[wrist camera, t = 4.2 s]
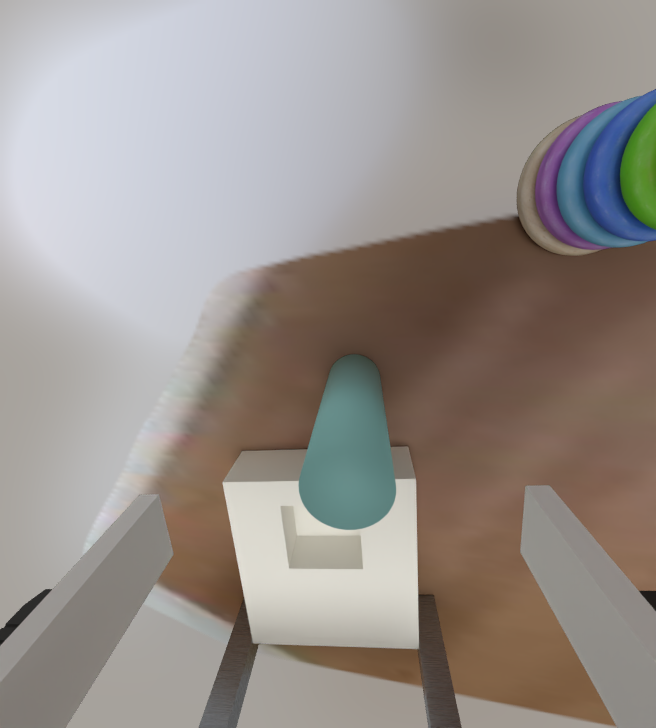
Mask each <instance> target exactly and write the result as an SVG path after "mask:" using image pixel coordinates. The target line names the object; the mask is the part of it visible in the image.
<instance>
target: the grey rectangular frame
mask: <svg viewBox="0 0 656 728" xmlns="http://www.w3.org/2000/svg"><path fill="white" fill-rule="evenodd" d="M418 621H419V649H417V650H418V657H419V664H420V671H421V679H422V686H423V692H424V700H425V707H426V714H427V721H428V728H461V724H460V718H459V713H458V709H457V704H456V699H455V694H454V690H453V685H452V680H451V675H450V671H449V666H448V661H447V656H446V651H445V647H444V642H443V637H442V632H441V628H440V623H439V618H438V613H437V609H436V604H435V599H434V595H418ZM258 645H259V644H253V641H252V635H251V630H250V625H249V619H248V614H247V609H246V604H245V598H244V599H243V602H242V605H241V608H240V611H239V613H238V616H237V619H236V622H235V625H234V628H233V631H232V633H231V636H230V639H229V642H228V645H227V648H226V651H225V654H224V656H223V659H222V662H221V665H220V668H219V671H218V674H217V677H216V680H215V682H214V685H213V688H212V691H211V694H210V697H209V699H208V702H207V705H206V708H205V711H204V714H203V717H202V720H201V722H200V725H199V728H236V726H237V723H238V719H239V715H240V712H241V708H242V704H243V701H244V697H245V693H246V690H247V686H248V682H249V678H250V675H251V671H252V667H253V664H254V660H255V656H256V652H257V649H258Z"/></svg>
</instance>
